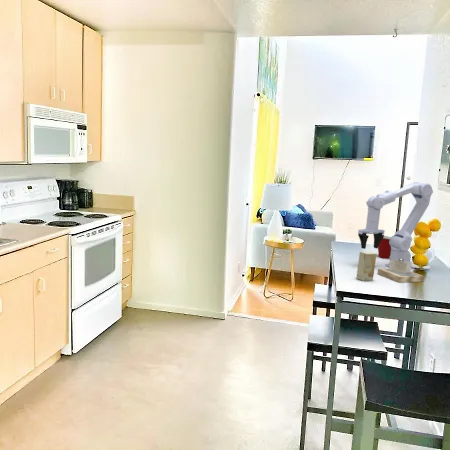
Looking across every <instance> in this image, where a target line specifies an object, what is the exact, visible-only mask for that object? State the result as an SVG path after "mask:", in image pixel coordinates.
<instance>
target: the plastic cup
mask: <svg viewBox="0 0 450 450" xmlns="http://www.w3.org/2000/svg"><path fill="white" fill-rule="evenodd" d="M391 237H392V236H388V235H384V237H383V239H382V240H381V242H380V244H379V246H378V248H377V251H378V252H377V253H378V258H380V259H388V260H390V255H391V246H390V244H389V240H390V238H391Z"/></svg>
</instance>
